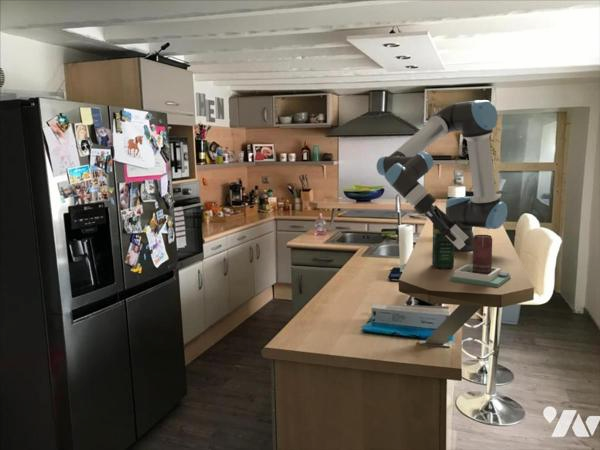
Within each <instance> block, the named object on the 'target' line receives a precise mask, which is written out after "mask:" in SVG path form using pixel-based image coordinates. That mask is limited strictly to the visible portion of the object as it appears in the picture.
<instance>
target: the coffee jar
mask: <svg viewBox="0 0 600 450" xmlns="http://www.w3.org/2000/svg"><path fill="white" fill-rule="evenodd" d="M449 229H451V228H449ZM431 252H432V253H431V255H432V256H431V258H432V259H431V264H432V266H433V267H434V268H437V269H443V270H447V269H453V268H454V266H455V251H454V244H453V243H452V242H451V241H450V240H449V239H448V238H447V237H446V236H444V237H442V234H441V233H440V231H439V230H438V229H437V228H436V226H435V225H434V224H433V223H432V251H431Z"/></svg>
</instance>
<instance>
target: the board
mask: <svg viewBox="0 0 600 450" xmlns="http://www.w3.org/2000/svg"><path fill="white" fill-rule="evenodd" d="M472 270H473V264H464V265H462V266H461V267H459V268H457V269H456V270H453V271H454V272H453V275H450V277H449V280H450V281H453V282H459V283H465V284H466V283H467V284H473V285H479V286H487V287H493V288H499V287H500V286H501V285H503V284H504V283H506V282H507V281H508V280H510V279H511V274H510V273H509V272H506V271H505V272H504V271H502V268H501V267H500V268H499V267H491V273H490V274H488V275H486V274H478V273H472Z"/></svg>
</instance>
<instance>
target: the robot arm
mask: <svg viewBox="0 0 600 450" xmlns="http://www.w3.org/2000/svg"><path fill="white" fill-rule="evenodd" d="M498 120H499V119H498V111H497V109H496V106H495V105H494V104H493V103H492V102H491V101H490V100H486V99H483V100H481V99H480V100H479V99H476V100H469V101H468V100H467V101H461V102H455V103H450V104H448V105H446V106H444V107H443V108H442V109H440V110H438V111H437V112H436V113H434V114H433V115H432V116H430V118H429V119H428V120H427V123H426V124H424V125H423V127H422V128H420V129H419V130H418V131H417V132H416V133H415V134H413V135H412V136H411V137H410V138H409V139H408V140H407V141H405V142H404V143H403V144H402V145H401V146H400V147H398V148H397V149H396V150H395V151H394V152H392V153H391V154H390V155H388V156H382V157H380V158H378V160H377V162H376V171H377V173H378V174H379V175H380V176H383V177H384V180H386V181H387V182H388V184H389V185H390V187H392V188H393V189H394V190H395V191H396V192H397V193H398V194H399V195H400V196H402V198H403V199H404V200H405V203H406V204H408V203H409V205H410V206H412V207H413V209H414V210H415V211H416V212H417V213H418V214H419V215H422V214H424V213H425V214H424V215H425V216H426V217H427V218H428V219H429V220H430V221H431V224H432V225H433V224H434V225H435V226H436V228H437V229H438V230H439V231H440V233H441V234H442V237H444V236H446V237H447V238H448V239H449V240H450V241H451V242H452V243H453V244H454V252H467V251H473V238H474V236H475V235H474V232H473V231H474V230H473V228H481V229H487V230H491V229H492V230H497V229H499V228H501V227H502V226H503V225H504V224H505V221H506V220H507V216H508V206H507V204H506V203H505V202H504V201H501V196H500V194H498V193H497V192H496V186H495V178H494V167H493V161H492V160H493V159H492V152H491V151H492V149H491V142H490V136H491V135H492V134H493V129H494V128H496V126H497V123H498ZM454 132H461V136H462V138H463V139H465V140H466V143H467V152H468V159H469V169H470V176H471V183H472V190H473V192H472V194H473V195H472V196H461V197H452V198H448V199H447V200H446V201H445V212H444V211H443V210H441V209H440V208H439V207H438V206H437V205H436V204H435V205H434V203H435V202H436V198H435V197H434V196H433V195H432V194H431V193H428V189H426V188H425V186H423V185H422V184H421V183H420V182H419V181H418V180H420V179H421V178H422V177H423V176H425V175H426V174H427V173H429V172H430V170H431V169H432V168H433V167H434V164H435V162H434V159H433V157H432V155H431V154H430V153H428V152H427V151H426V150H427V149H428V148H429V147H430V146H431V145H432V144H434V143H436V141H437V140H438V139H439V138H443V137H445V136H446V135H447V134H450V133H454ZM449 228H451V229H449Z"/></svg>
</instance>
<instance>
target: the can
mask: <svg viewBox="0 0 600 450" xmlns="http://www.w3.org/2000/svg"><path fill="white" fill-rule="evenodd" d="M492 257H493V236H492V235H489V234H475V235H474V238H473V250H472V265H473V270H472V273H478V274H486V275H488V274H490V273H491V267H492V265H493V264H492V263H493V259H492Z"/></svg>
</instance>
